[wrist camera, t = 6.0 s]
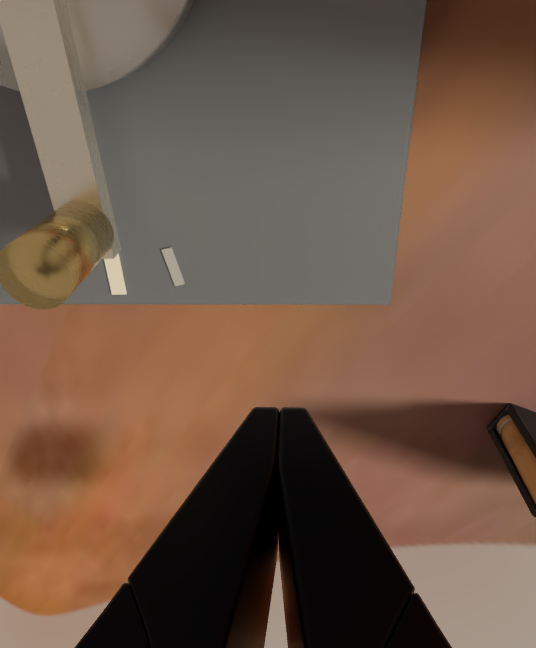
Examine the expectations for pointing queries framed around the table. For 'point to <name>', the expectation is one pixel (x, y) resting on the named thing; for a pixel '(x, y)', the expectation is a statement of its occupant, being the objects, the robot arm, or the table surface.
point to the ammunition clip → (518, 448)
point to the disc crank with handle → (71, 126)
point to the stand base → (246, 157)
